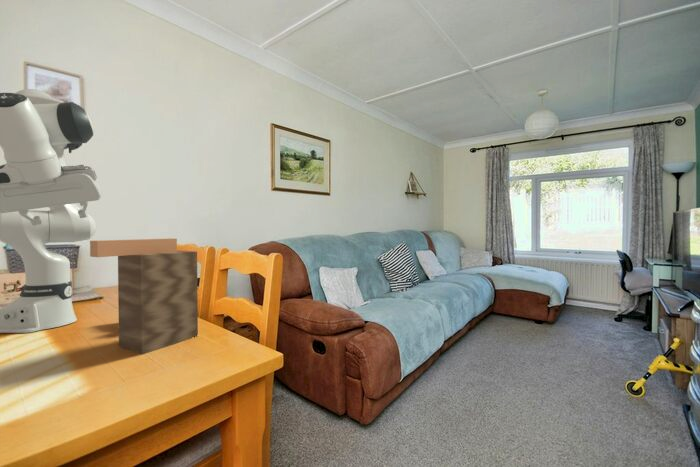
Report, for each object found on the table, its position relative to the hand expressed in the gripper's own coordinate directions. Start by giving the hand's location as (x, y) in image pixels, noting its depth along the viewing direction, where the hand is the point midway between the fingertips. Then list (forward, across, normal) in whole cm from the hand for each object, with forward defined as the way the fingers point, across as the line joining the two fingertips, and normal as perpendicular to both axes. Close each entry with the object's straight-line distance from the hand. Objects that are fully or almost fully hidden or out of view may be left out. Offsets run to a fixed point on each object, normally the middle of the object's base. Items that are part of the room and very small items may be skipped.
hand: (61, 220), depth 82 cm
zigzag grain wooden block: (+35, -14, +18) cm, 41 cm away
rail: (+10, -14, +8) cm, 19 cm away
